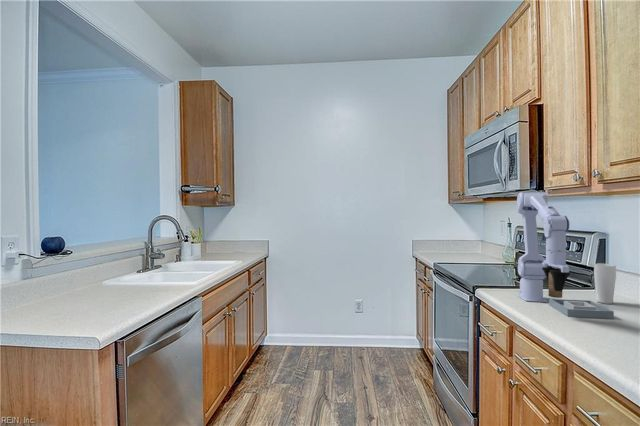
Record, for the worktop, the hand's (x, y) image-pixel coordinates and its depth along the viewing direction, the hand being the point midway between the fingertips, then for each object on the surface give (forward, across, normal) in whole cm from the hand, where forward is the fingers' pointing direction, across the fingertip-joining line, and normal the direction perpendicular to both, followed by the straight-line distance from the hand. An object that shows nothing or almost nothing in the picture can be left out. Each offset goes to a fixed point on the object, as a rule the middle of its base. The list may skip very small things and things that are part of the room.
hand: (555, 289), depth 122 cm
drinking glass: (+10, -22, +27) cm, 36 cm away
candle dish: (+9, -7, +11) cm, 16 cm away
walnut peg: (+2, 0, 0) cm, 2 cm away
